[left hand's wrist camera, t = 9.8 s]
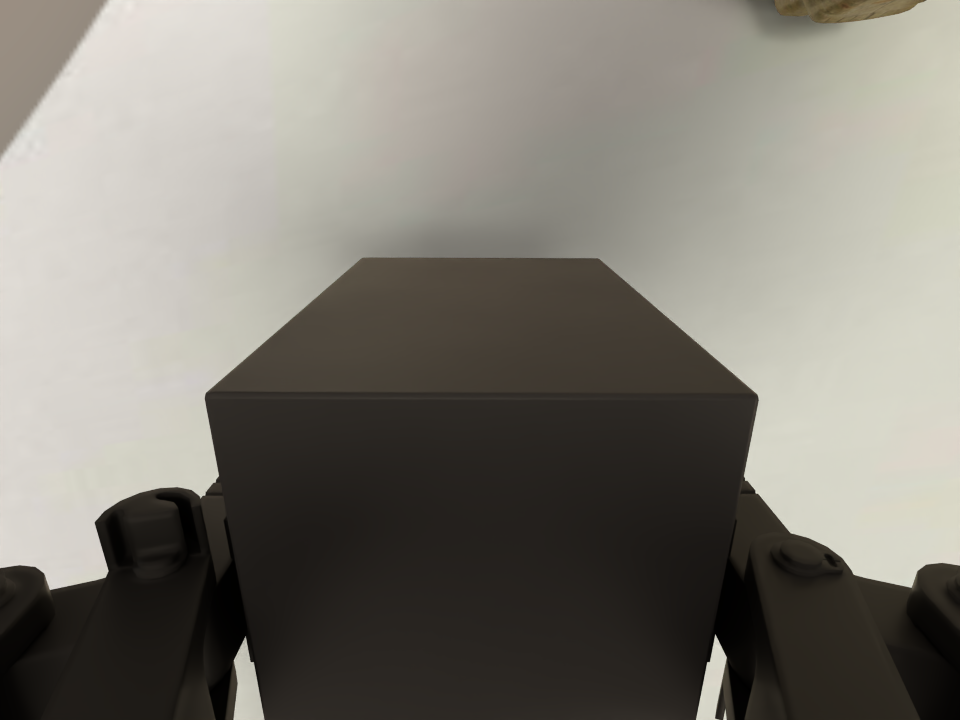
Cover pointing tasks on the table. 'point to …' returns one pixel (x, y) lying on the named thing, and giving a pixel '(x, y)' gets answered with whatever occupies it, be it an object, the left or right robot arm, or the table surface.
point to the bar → (480, 496)
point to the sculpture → (843, 9)
